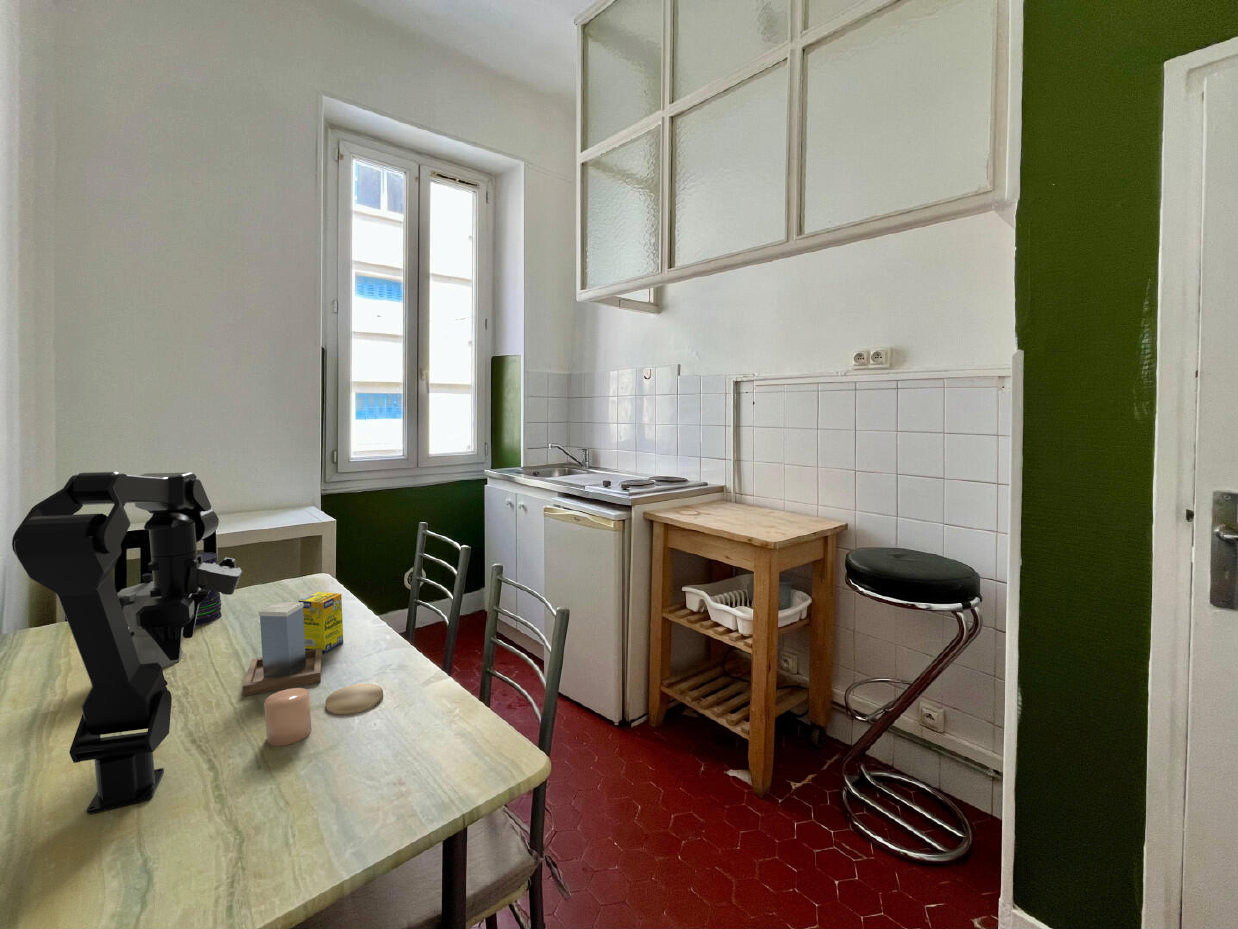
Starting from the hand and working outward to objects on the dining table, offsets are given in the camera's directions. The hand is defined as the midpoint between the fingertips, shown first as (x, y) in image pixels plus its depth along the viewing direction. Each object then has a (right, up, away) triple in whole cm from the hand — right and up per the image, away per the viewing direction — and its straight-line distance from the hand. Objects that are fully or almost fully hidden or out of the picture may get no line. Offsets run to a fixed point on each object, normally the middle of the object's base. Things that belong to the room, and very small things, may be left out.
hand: (182, 648), depth 92 cm
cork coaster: (+24, -11, +7) cm, 28 cm away
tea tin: (+7, -10, +17) cm, 20 cm away
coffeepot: (-22, -10, +21) cm, 32 cm away
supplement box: (+7, -9, +29) cm, 32 cm away
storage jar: (-30, -8, +44) cm, 54 cm away
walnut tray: (+7, -10, +17) cm, 21 cm away
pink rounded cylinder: (+19, -13, -3) cm, 23 cm away
